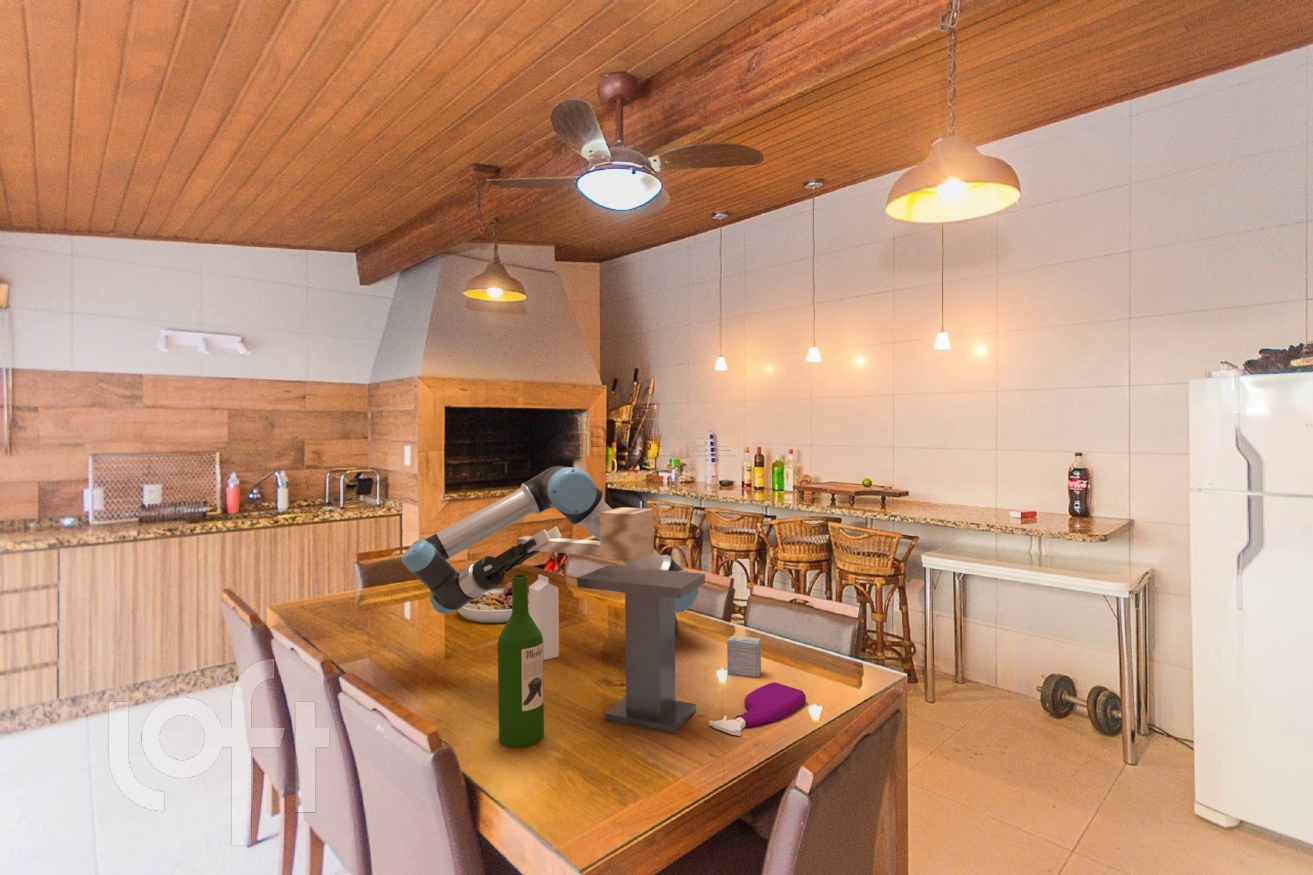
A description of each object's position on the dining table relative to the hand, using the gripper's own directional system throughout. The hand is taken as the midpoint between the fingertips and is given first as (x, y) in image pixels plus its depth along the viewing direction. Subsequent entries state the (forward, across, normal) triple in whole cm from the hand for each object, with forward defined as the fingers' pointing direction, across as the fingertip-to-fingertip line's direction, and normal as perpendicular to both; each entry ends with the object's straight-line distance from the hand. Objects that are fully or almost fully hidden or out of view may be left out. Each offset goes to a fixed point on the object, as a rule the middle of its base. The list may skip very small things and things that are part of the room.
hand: (552, 533), depth 150 cm
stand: (+1, 0, -44) cm, 44 cm away
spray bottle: (+20, -10, -56) cm, 61 cm away
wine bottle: (-15, +19, -36) cm, 43 cm away
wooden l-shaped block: (+4, 0, -7) cm, 8 cm away
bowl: (-67, -53, -6) cm, 86 cm away
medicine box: (+12, -31, -51) cm, 61 cm away
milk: (-34, -22, -24) cm, 48 cm away
